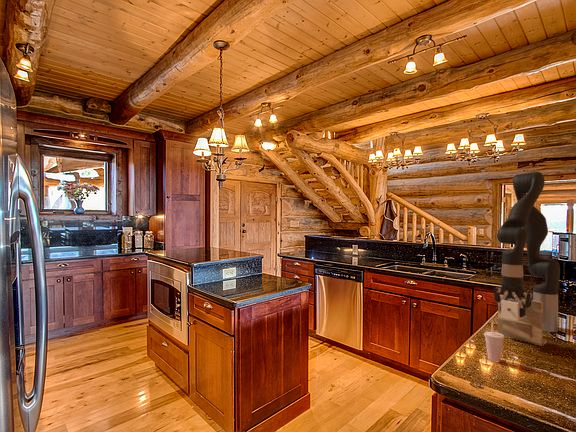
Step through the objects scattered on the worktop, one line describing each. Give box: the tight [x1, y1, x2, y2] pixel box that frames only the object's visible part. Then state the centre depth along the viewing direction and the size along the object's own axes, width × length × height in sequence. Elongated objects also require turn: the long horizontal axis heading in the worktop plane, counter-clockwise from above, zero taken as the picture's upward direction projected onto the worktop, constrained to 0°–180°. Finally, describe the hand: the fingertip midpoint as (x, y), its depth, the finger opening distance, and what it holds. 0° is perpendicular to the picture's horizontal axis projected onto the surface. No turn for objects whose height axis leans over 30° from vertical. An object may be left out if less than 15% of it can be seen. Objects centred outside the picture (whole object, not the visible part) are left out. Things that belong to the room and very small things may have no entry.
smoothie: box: [484, 321, 505, 362], centre depth 120 cm, size 6×6×14 cm
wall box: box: [501, 299, 524, 321], centre depth 136 cm, size 9×6×7 cm
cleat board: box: [497, 294, 548, 347], centre depth 140 cm, size 8×16×18 cm, turn 34°
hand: (512, 314), depth 135 cm, fingers closed on wall box, 6 cm apart
